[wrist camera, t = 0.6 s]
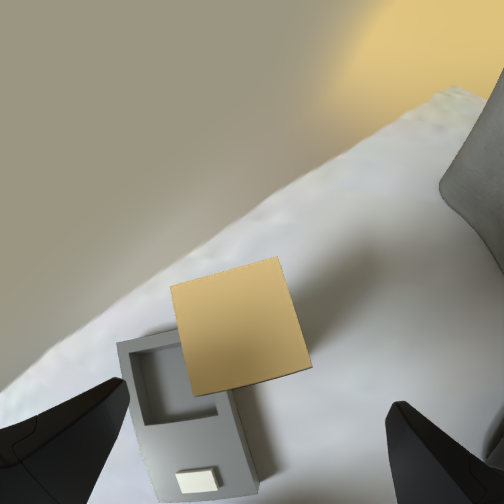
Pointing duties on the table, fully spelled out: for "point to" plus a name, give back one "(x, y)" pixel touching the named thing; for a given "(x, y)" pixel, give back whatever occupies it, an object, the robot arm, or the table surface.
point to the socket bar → (183, 426)
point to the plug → (238, 328)
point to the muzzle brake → (497, 458)
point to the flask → (481, 175)
